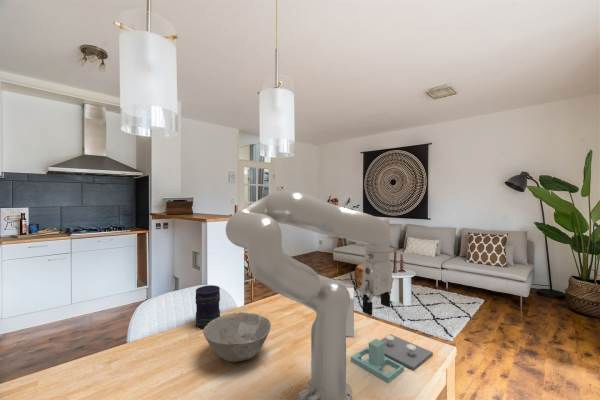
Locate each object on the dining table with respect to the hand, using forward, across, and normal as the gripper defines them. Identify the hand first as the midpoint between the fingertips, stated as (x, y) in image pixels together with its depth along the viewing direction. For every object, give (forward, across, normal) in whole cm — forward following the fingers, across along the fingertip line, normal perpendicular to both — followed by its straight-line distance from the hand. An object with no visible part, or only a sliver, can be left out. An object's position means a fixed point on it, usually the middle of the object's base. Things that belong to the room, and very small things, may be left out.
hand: (376, 309), depth 88 cm
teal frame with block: (+18, 0, 0) cm, 18 cm away
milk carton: (+18, +9, +21) cm, 29 cm away
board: (+18, +13, -1) cm, 22 cm away
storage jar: (+18, -30, +63) cm, 72 cm away
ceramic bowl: (+18, -31, +34) cm, 50 cm away
